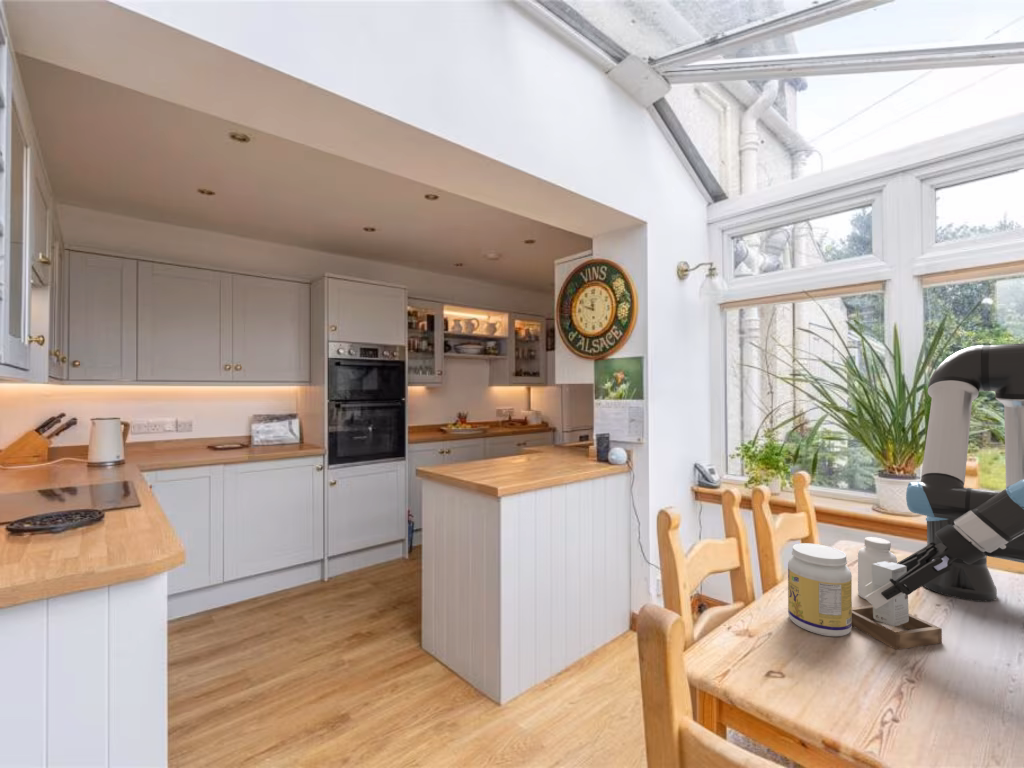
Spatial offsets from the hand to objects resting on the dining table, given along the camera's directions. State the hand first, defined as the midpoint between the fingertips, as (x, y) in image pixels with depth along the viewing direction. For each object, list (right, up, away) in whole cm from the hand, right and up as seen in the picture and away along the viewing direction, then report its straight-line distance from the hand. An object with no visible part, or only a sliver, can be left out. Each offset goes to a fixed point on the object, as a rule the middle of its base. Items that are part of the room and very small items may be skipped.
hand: (870, 596), depth 107 cm
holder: (+3, -7, -2) cm, 8 cm away
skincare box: (+3, -4, -2) cm, 6 cm away
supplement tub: (-11, -7, +1) cm, 13 cm away
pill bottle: (+13, -7, +14) cm, 20 cm away
